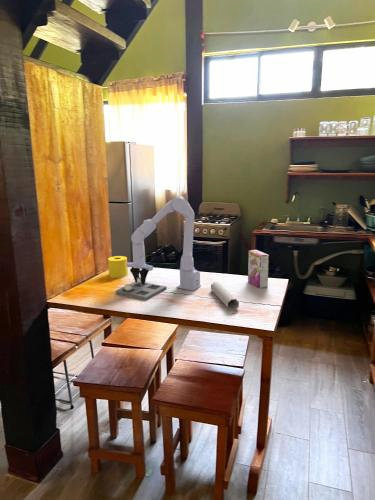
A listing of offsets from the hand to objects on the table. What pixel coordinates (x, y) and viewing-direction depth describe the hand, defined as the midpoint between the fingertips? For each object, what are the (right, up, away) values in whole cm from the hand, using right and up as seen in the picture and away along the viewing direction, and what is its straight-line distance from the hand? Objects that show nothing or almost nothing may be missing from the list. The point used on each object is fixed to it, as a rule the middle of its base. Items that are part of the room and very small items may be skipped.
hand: (140, 282), depth 173 cm
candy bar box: (+58, -1, +2) cm, 58 cm away
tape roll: (-15, +2, +21) cm, 25 cm away
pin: (-4, -4, -7) cm, 9 cm away
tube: (+39, -6, -16) cm, 42 cm away
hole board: (+1, -4, -5) cm, 6 cm away
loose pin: (0, -1, 0) cm, 1 cm away
